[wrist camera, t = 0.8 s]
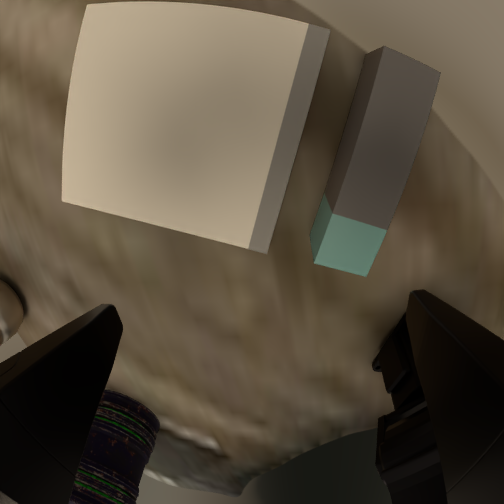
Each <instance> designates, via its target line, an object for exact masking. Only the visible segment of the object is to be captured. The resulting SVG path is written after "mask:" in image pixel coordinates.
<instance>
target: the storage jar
mask: <svg viewBox="0 0 504 504" xmlns="http://www.w3.org/2000/svg"><path fill="white" fill-rule="evenodd" d="M159 427H160V423H159V421H158V419H157V417H156V416H155V415H154V414H153V413H152V412H151V411H150V410H149V409H148V408H146V407H145V406H144V405H142V404H141V403H139V402H137V401H136V400H134V399H132V398H130V397H128V396H125V395H123V394H120V393H117V392H114V391H109V390H104V392H103V395H102V398H101V401H100V403H99V406H98V409H97V412H96V415H95V418H94V421H93V424H92V427H91V430H90V433H89V436H88V439H87V442H86V445H85V448H84V451H83V455H82V458H81V461H80V464H79V468H78V471H77V475H76V479H75V482H74V486H73V490H72V493H71V497H70V501H69V504H136V502H135V501H136V500H137V497H138V495H139V494H138V493H139V488H138V486H139V483H140V480H141V477H142V474H143V470H144V467H145V465H146V464H147V463H148V461H149V458H150V455H151V453H152V452H153V449H154V446H155V440H156V434H157V432H158V431H159Z"/></svg>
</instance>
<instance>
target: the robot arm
mask: <svg viewBox="0 0 504 504" xmlns="http://www.w3.org/2000/svg"><path fill="white" fill-rule="evenodd" d="M122 332H123V325H122V322H121V320H120V317H119V315H118V312H117V310H116V308H115V306H114V305H112V304H101V305H99V306H98V307H96V308H94V309H92V310H91V311H89V312H87V313H85V314H84V315H82V316H80V317H78V318H77V319H75V320H73V321H71V322H70V323H68V324H66V325H64V326H63V327H61V328H59V329H58V330H56V331H54V332H52V333H51V334H49V335H47V336H46V337H44V338H42V339H40V340H39V341H37V342H35V343H34V344H32V345H30V346H29V347H27V348H25V349H24V350H22V351H21V352H18V353H17V354H15V355H13V356H12V357H10V358H8V359H7V360H5V361H3V362H1V363H0V504H69V501H70V497H71V493H72V490H73V486H74V482H75V479H76V475H77V471H78V468H79V464H80V461H81V458H82V455H83V451H84V448H85V445H86V442H87V439H88V436H89V433H90V430H91V427H92V424H93V421H94V418H95V415H96V412H97V409H98V406H99V403H100V401H101V398H102V395H103V392H104V390H105V387H106V384H107V381H108V379H109V376H110V373H111V370H112V367H113V364H114V360H115V357H116V353H117V350H118V346H119V343H120V339H121V336H122ZM372 368H373V370H374V371H377V372H382V375H383V379H384V383H385V387H386V391H387V393H389V394H391V396H392V401H393V405H394V409H395V411H393V412H391V413H389V414H387V415H383V416H381V417H379V418H378V432H377V450H376V463H375V464H376V467H377V471H378V473H379V474H380V477H381V479H382V480H383V482H384V483H385V485H386V486H387V487H388V489H389V492H390V495H391V499H392V504H504V340H503V339H501V338H500V337H498V336H497V335H495V334H494V333H492V332H491V331H489V330H488V329H486V328H485V327H483V326H481V325H480V324H478V323H477V322H475V321H474V320H472V319H471V318H469V317H468V316H466V315H464V314H463V313H461V312H460V311H458V310H457V309H455V308H453V307H452V306H450V305H449V304H447V303H445V302H444V301H442V300H440V299H439V298H437V297H436V296H434V295H432V294H431V293H429V292H427V291H426V290H423V289H422V290H413V291H411V292H410V295H409V301H408V306H407V312H406V314H405V315H404V316H403V318H402V319H401V321H400V323H399V324H398V326H397V327H396V329H395V331H394V332H393V334H392V335H391V336H390V338H389V339H388V341H387V342H386V344H385V345H384V347H383V348H382V350H381V351H380V353H379V354H378V357H377V358H376V359H375V361H374V362H373V364H372Z"/></svg>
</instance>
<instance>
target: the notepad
mask: <svg viewBox="0 0 504 504" xmlns="http://www.w3.org/2000/svg"><path fill="white" fill-rule="evenodd" d="M330 31H331V30H330V29H326V28H323V27H320V26H316V25H313V24H308V23H305V22H301V21H297V20H293V19H289V18H285V17H280V16H276V15H271V14H266V13H261V12H255V11H250V10H244V9H237V8H231V7H223V6H215V5H206V4H194V3H180V2H113V3H99V4H88V5H87V7H86V11H85V15H84V18H83V22H82V26H81V30H80V35H79V39H78V44H77V48H76V53H75V58H74V63H73V69H72V75H71V81H70V88H69V95H68V102H67V111H66V120H65V131H64V145H63V164H62V201H63V202H67V203H71V204H75V205H79V206H83V207H87V208H91V209H95V210H99V211H103V212H107V213H110V214H114V215H118V216H122V217H126V218H130V219H134V220H138V221H142V222H146V223H150V224H153V225H157V226H161V227H165V228H169V229H173V230H177V231H181V232H185V233H189V234H192V235H196V236H200V237H204V238H208V239H212V240H216V241H220V242H224V243H227V244H231V245H235V246H239V247H243V248H247V249H249V250H253V251H257V252H261V253H265V254H267V251H268V248H269V245H270V241H271V238H272V235H273V231H274V228H275V224H276V221H277V218H278V214H279V211H280V208H281V204H282V201H283V197H284V194H285V191H286V187H287V184H288V180H289V177H290V173H291V170H292V166H293V163H294V160H295V156H296V153H297V149H298V146H299V142H300V139H301V135H302V132H303V128H304V125H305V121H306V118H307V114H308V111H309V107H310V103H311V100H312V96H313V93H314V89H315V86H316V82H317V78H318V75H319V71H320V68H321V64H322V60H323V57H324V53H325V49H326V46H327V42H328V38H329V35H330Z"/></svg>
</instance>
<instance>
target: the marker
mask: <svg viewBox="0 0 504 504" xmlns="http://www.w3.org/2000/svg"><path fill="white" fill-rule="evenodd" d="M439 77H440V72H438V71H437V70H435V69H433V68H431V67H429V66H427V65H425V64H423V63H421V62H419V61H417V60H415V59H413V58H411V57H408V56H406V55H404V54H402V53H400V52H397V51H395V50H393V49H390V48H388V47H386V46H383V47H381V48H379V49H376V50H374V51H372V52H370V53H368V54H366V56H365V59H364V63H363V67H362V70H361V74H360V78H359V81H358V85H357V88H356V92H355V95H354V99H353V102H352V106H351V109H350V112H349V116H348V119H347V122H346V126H345V129H344V132H343V135H342V139H341V142H340V145H339V148H338V152H337V155H336V158H335V161H334V164H333V167H332V170H331V173H330V177H329V180H328V183H327V186H326V189H325V192H324V195H323V198H322V201H321V204H320V207H319V210H318V213H317V215H316V218H315V221H314V224H313V227H312V230H311V233H310V241H311V247H312V254H313V260H314V263H315V264H319V265H323V266H326V267H330V268H334V269H338V270H342V271H346V272H349V273H353V274H357V275H361V276H365V277H366V276H367V274H368V272H369V270H370V268H371V266H372V263H373V261H374V259H375V257H376V255H377V253H378V250H379V248H380V246H381V244H382V241H383V239H384V237H385V234H386V232H387V230H388V227H389V225H390V223H391V220H392V218H393V215H394V213H395V210H396V208H397V205H398V203H399V200H400V198H401V195H402V193H403V190H404V187H405V185H406V182H407V179H408V177H409V174H410V171H411V168H412V166H413V163H414V160H415V157H416V154H417V151H418V148H419V145H420V142H421V139H422V136H423V133H424V130H425V127H426V124H427V120H428V117H429V114H430V110H431V107H432V103H433V100H434V96H435V93H436V89H437V85H438V81H439Z"/></svg>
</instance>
